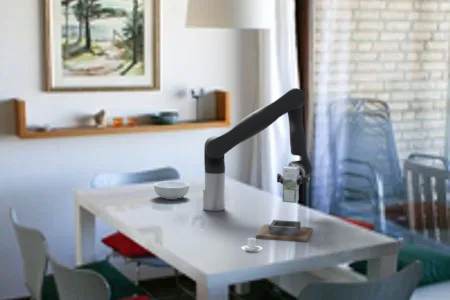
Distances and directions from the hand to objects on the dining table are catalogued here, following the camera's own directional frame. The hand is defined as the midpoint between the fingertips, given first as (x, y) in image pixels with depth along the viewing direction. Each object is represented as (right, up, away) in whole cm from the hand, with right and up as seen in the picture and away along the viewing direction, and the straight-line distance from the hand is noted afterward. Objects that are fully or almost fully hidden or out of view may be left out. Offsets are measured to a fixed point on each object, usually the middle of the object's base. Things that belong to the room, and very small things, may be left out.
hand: (290, 182), depth 295 cm
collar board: (-3, -21, -5) cm, 21 cm away
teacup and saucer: (-20, -24, -26) cm, 41 cm away
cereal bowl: (-53, -11, +60) cm, 80 cm away
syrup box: (0, -8, +4) cm, 9 cm away
